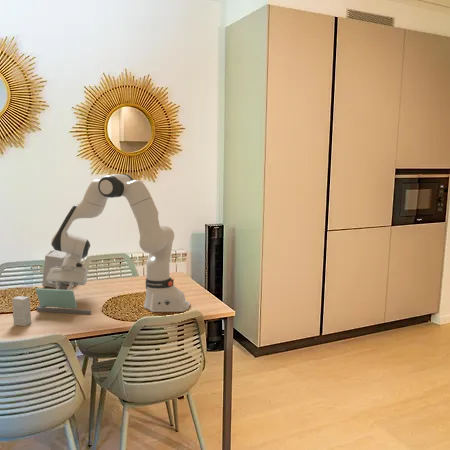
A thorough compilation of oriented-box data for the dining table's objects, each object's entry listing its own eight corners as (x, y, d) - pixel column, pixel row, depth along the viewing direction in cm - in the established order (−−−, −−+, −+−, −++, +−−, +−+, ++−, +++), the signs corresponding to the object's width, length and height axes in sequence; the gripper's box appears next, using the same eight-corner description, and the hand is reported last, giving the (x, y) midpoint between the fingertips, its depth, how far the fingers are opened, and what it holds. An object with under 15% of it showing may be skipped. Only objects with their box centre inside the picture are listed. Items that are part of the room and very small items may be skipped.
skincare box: (31, 323, 205) (30, 296, 203) (25, 326, 201) (23, 299, 199) (20, 321, 206) (18, 295, 205) (13, 324, 202) (11, 298, 201)
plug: (68, 298, 234) (68, 283, 233) (65, 300, 230) (64, 286, 229) (61, 297, 234) (60, 283, 233) (57, 300, 230) (56, 285, 229)
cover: (73, 290, 214) (72, 291, 213) (77, 307, 219) (76, 308, 218) (36, 288, 216) (35, 289, 215) (41, 305, 221) (40, 306, 220)
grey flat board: (100, 306, 228) (99, 303, 227) (90, 314, 216) (89, 311, 216) (47, 303, 231) (47, 300, 231) (35, 311, 220) (35, 307, 220)
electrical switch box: (68, 292, 256) (72, 257, 253) (41, 288, 256) (45, 253, 253) (77, 284, 271) (80, 251, 268) (51, 280, 270) (54, 247, 267)
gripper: (49, 263, 238) (40, 287, 230) (87, 264, 235) (79, 289, 227) (53, 269, 243) (45, 293, 235) (91, 271, 240) (83, 295, 232)
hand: (62, 291), depth 231 cm, fingers closed on plug, 4 cm apart
